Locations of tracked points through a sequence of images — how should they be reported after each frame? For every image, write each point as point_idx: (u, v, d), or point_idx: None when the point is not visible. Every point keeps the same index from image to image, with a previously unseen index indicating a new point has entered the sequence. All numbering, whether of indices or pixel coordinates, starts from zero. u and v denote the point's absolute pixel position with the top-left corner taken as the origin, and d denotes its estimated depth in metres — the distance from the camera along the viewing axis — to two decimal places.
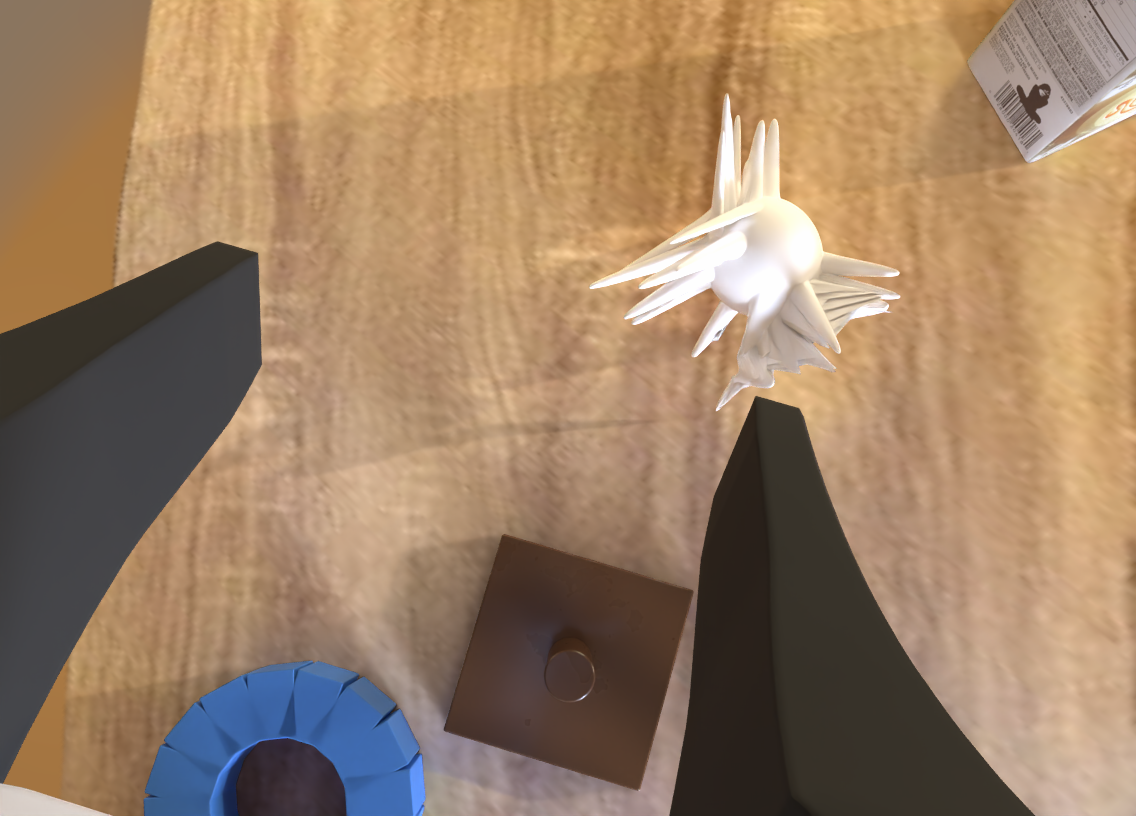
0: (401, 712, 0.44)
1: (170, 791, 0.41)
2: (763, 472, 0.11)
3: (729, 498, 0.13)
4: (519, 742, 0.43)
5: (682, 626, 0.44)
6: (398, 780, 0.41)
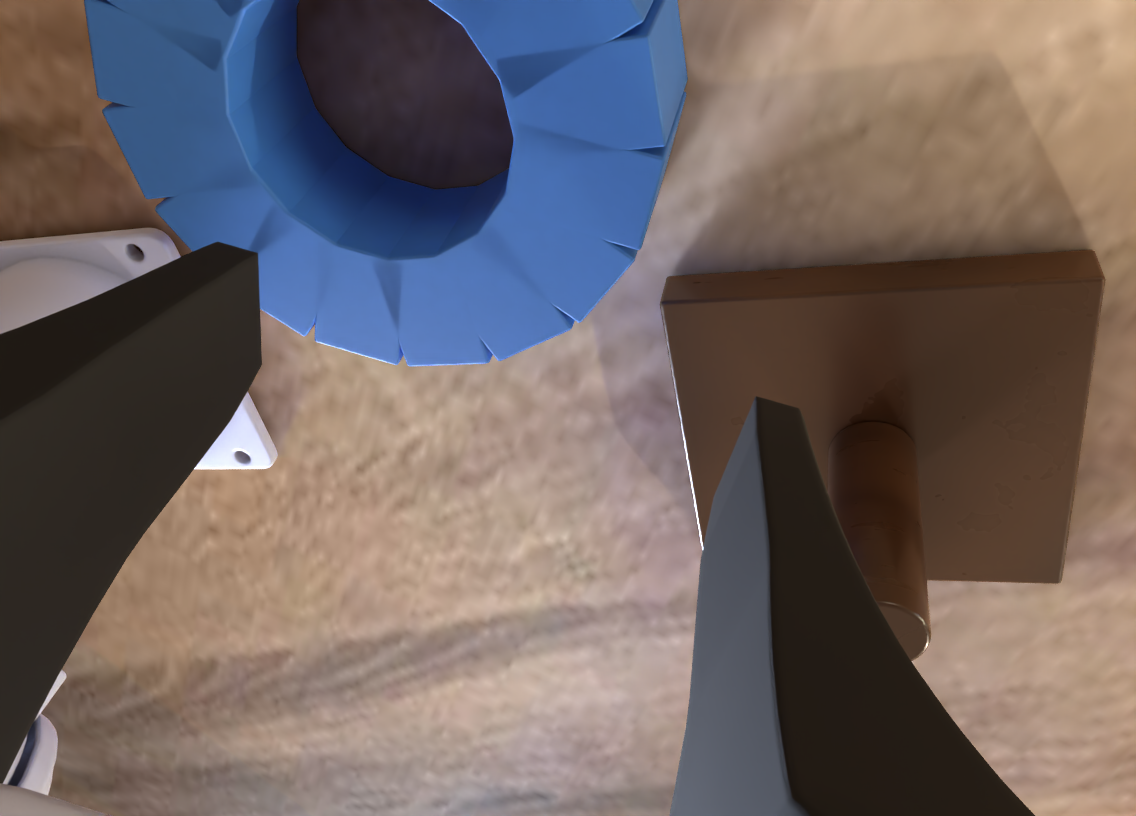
0: None
1: None
2: (763, 472, 0.11)
3: (729, 498, 0.13)
4: (698, 418, 0.24)
5: (990, 581, 0.25)
6: (542, 318, 0.20)
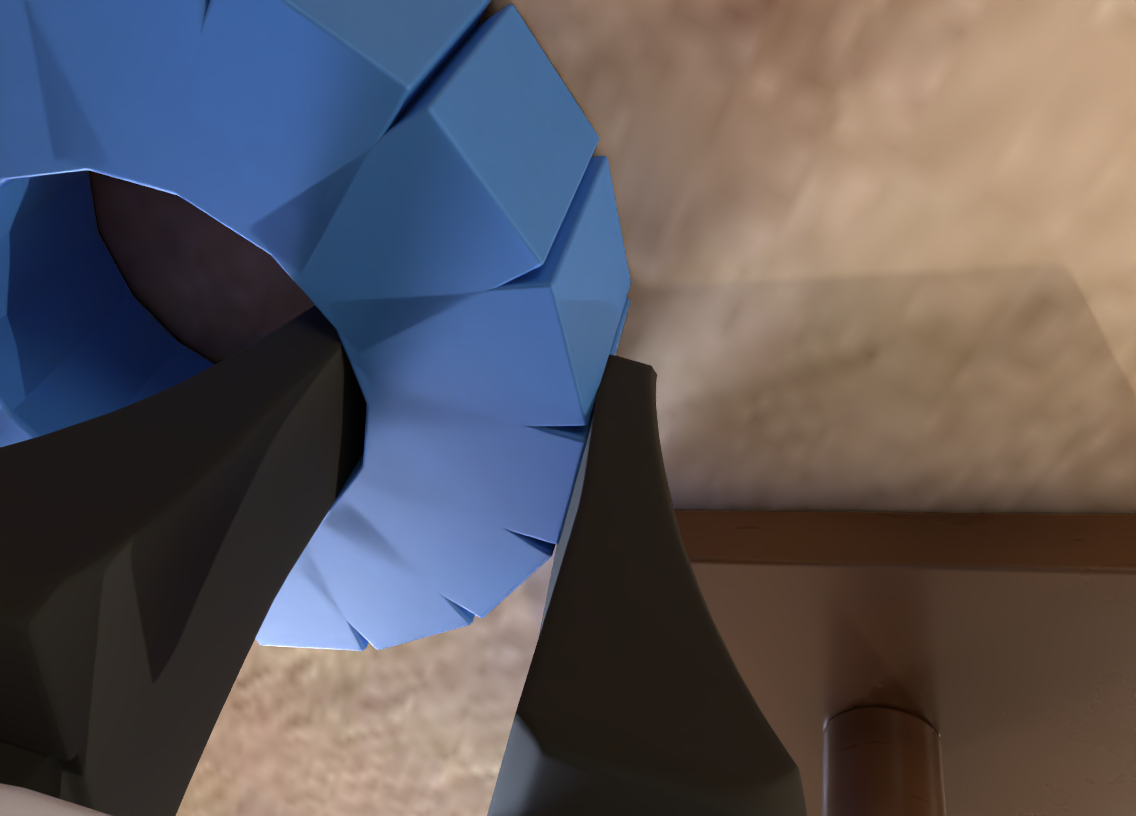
0: None
1: None
2: (594, 423, 0.11)
3: None
4: None
5: None
6: (431, 610, 0.15)
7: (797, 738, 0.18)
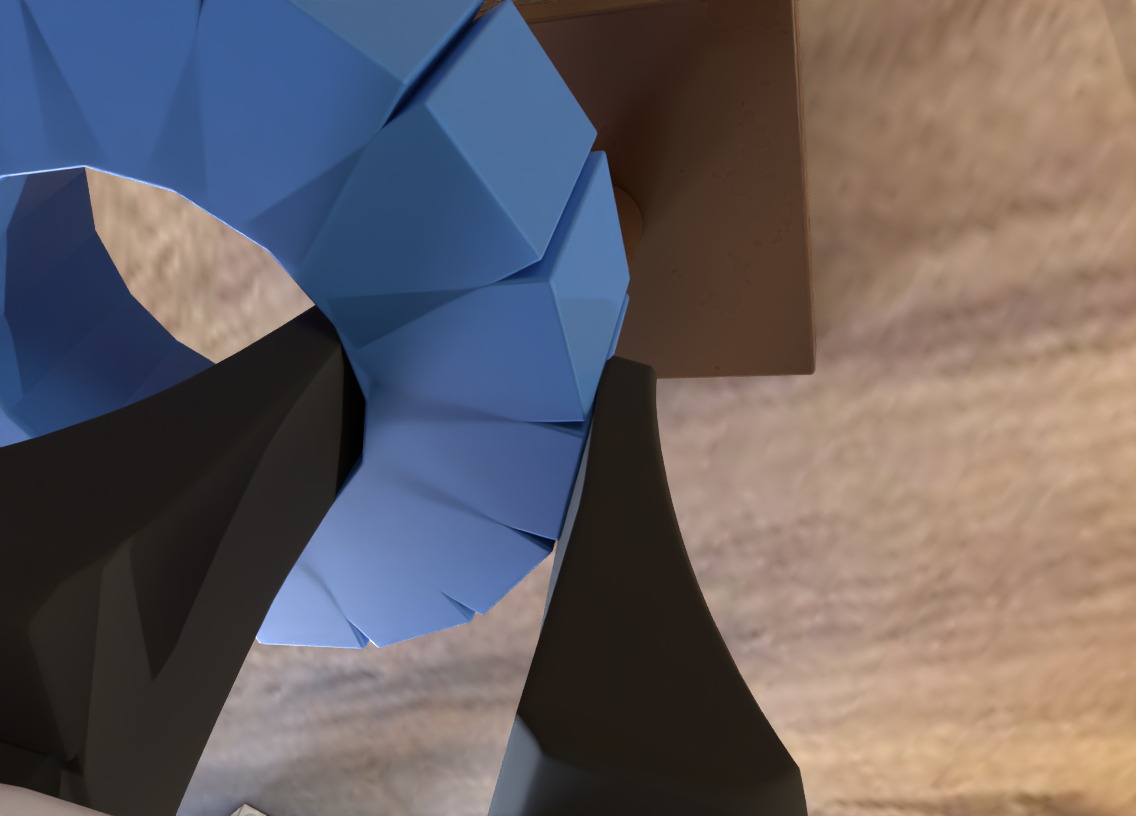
0: None
1: None
2: (594, 423, 0.11)
3: None
4: None
5: (744, 375, 0.24)
6: (431, 607, 0.15)
7: None
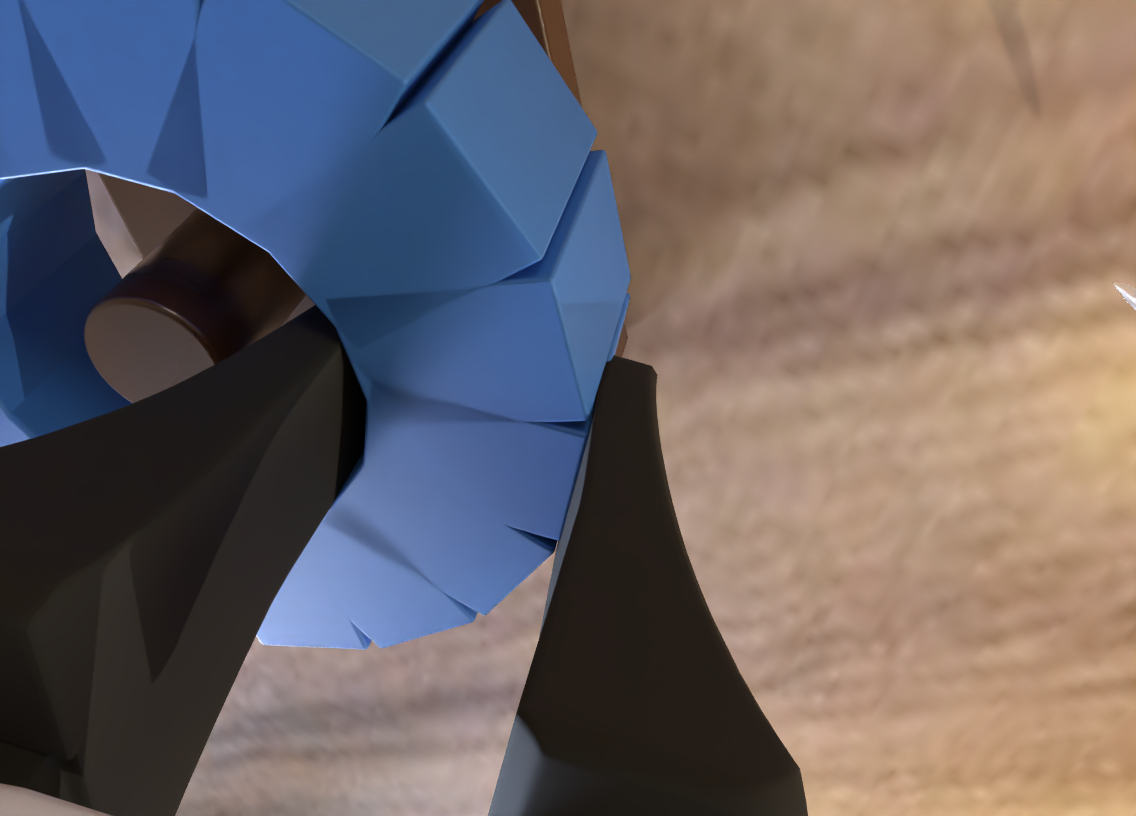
0: None
1: None
2: (594, 423, 0.11)
3: None
4: None
5: None
6: (433, 608, 0.15)
7: None
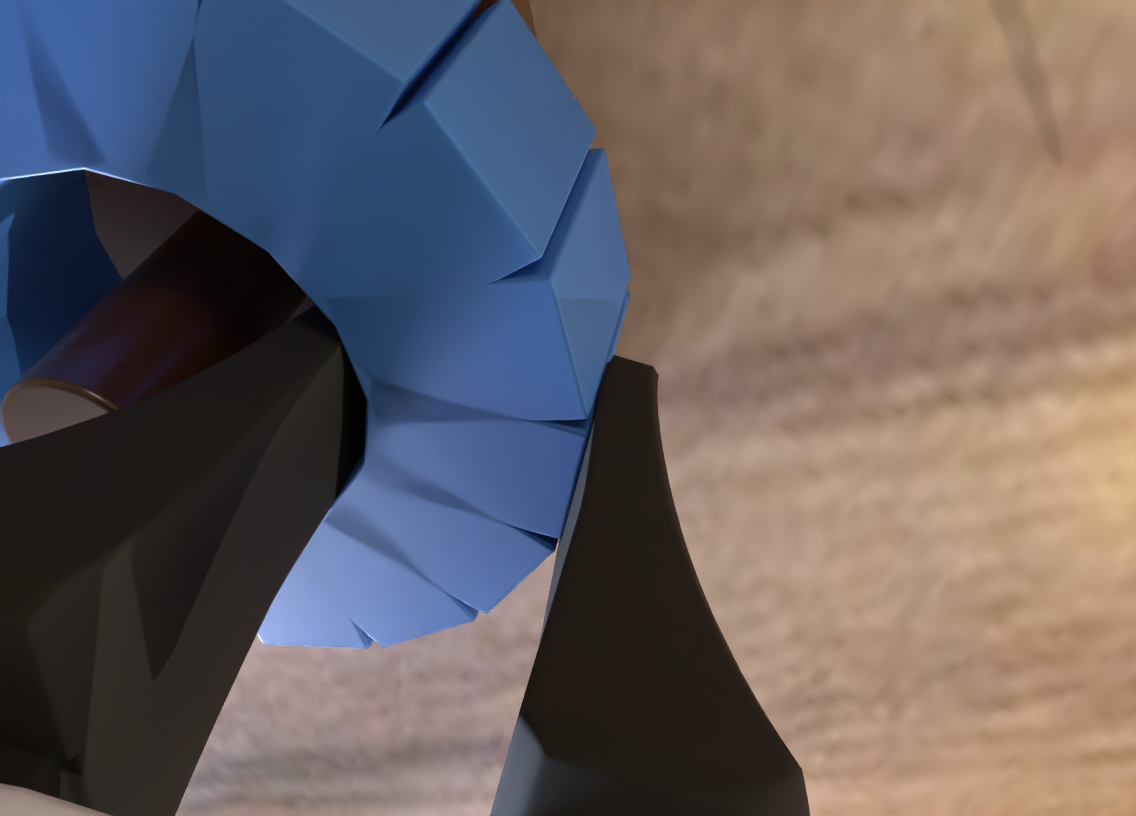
0: None
1: None
2: (596, 424, 0.11)
3: None
4: None
5: None
6: (434, 607, 0.15)
7: None
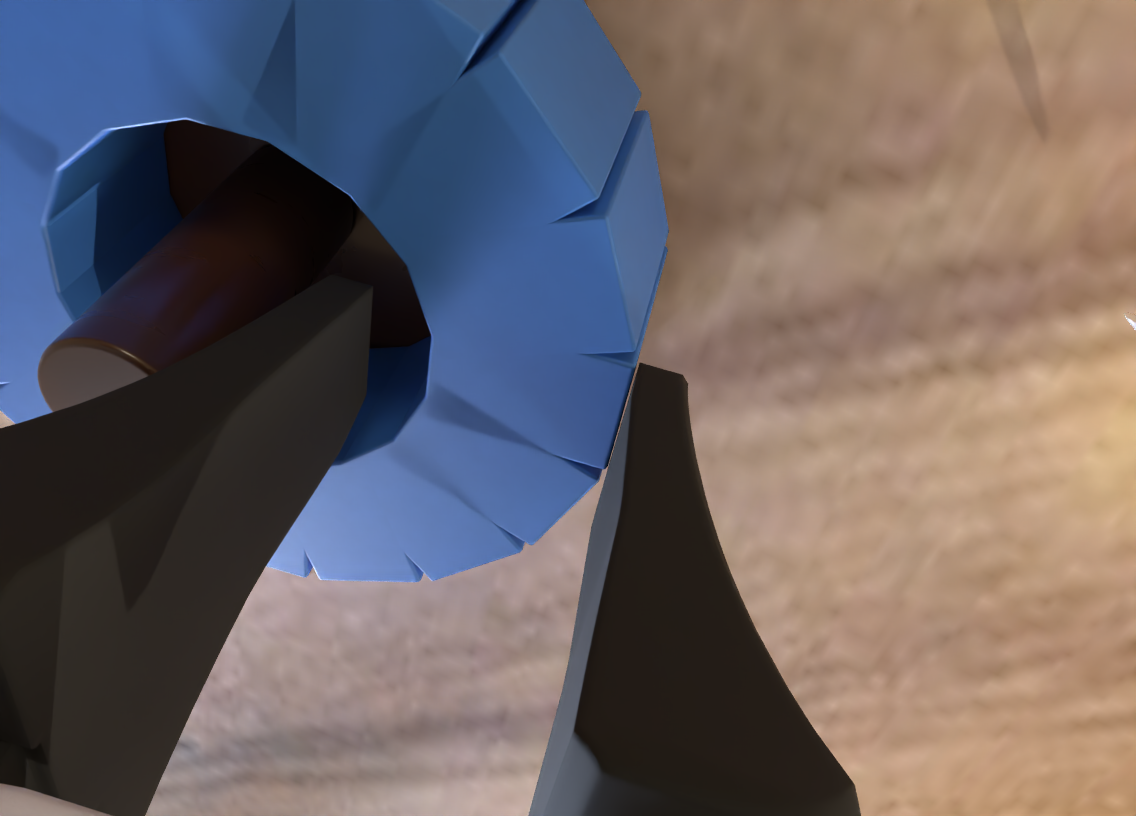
0: None
1: None
2: (630, 433, 0.11)
3: (611, 464, 0.13)
4: None
5: None
6: (484, 539, 0.16)
7: None
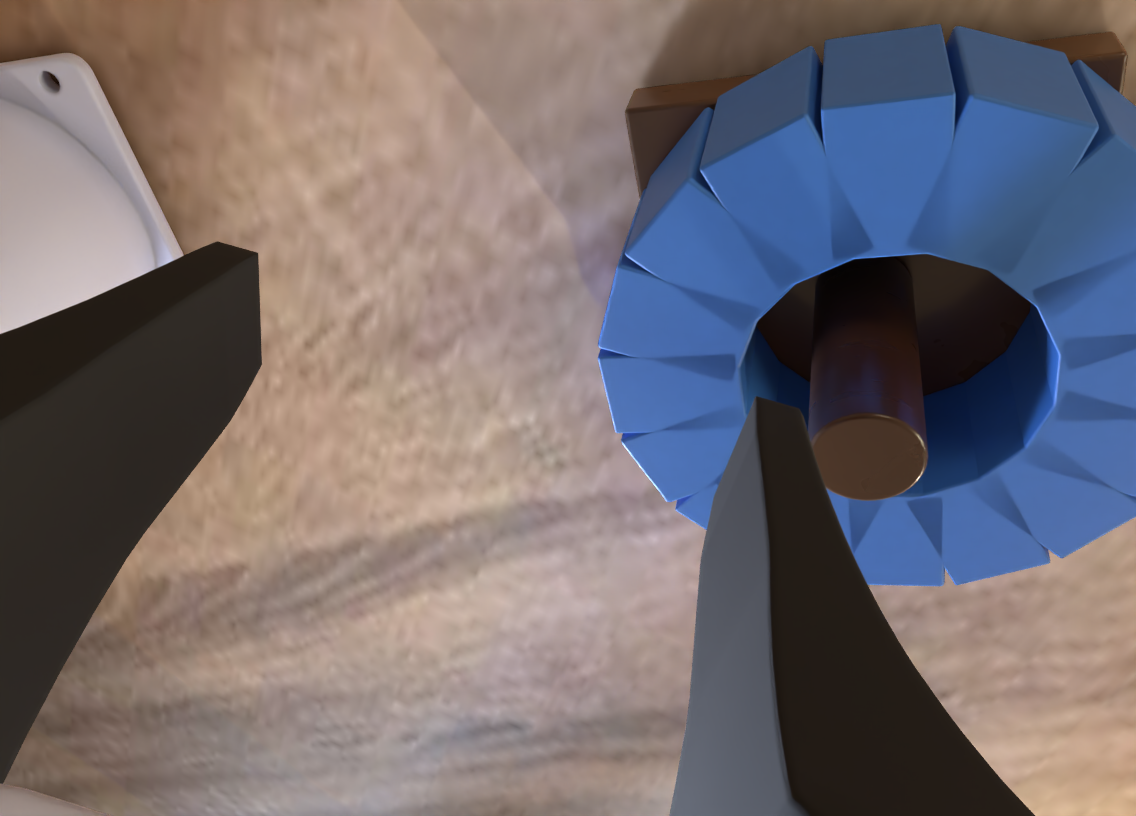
0: None
1: (847, 167, 0.16)
2: (763, 472, 0.11)
3: (729, 498, 0.13)
4: None
5: None
6: (1022, 553, 0.20)
7: (793, 301, 0.21)
